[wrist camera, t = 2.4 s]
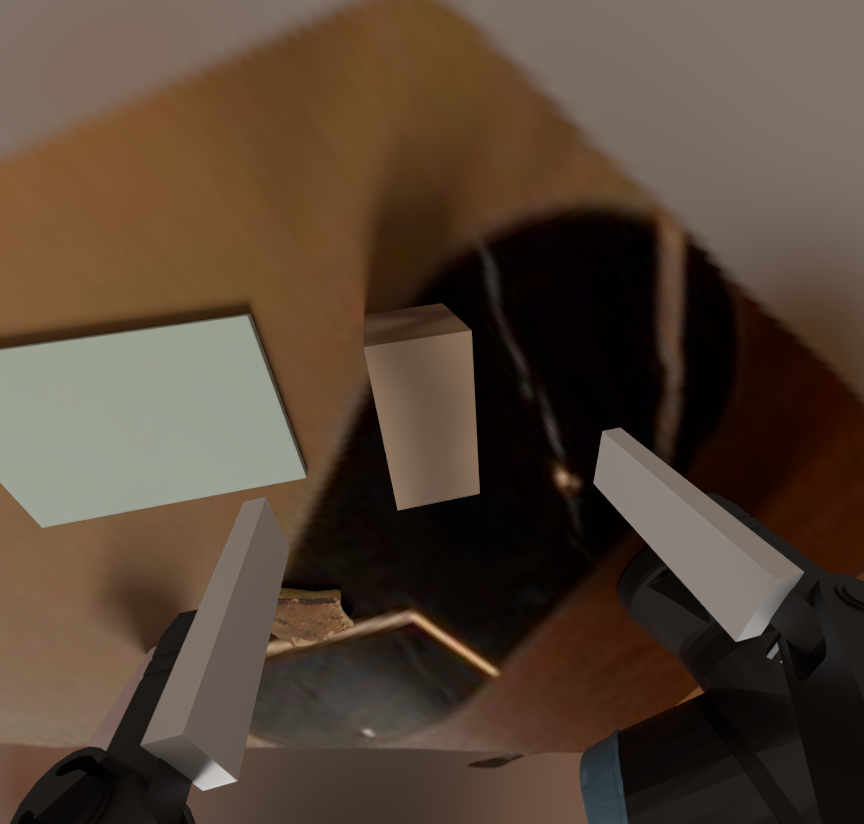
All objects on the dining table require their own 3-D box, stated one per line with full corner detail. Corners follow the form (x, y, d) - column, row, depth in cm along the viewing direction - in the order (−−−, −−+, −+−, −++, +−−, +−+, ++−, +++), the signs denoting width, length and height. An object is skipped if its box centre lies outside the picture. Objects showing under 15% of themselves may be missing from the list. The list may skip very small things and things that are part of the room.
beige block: (441, 302, 22) (471, 330, 16) (453, 433, 27) (479, 493, 21) (364, 314, 21) (363, 347, 15) (390, 445, 26) (397, 510, 20)
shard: (225, 580, 30) (217, 600, 29) (300, 544, 30) (297, 561, 28) (298, 635, 36) (295, 654, 34) (363, 605, 35) (363, 622, 34)
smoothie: (222, 655, 34) (142, 890, 22) (169, 680, 35) (62, 925, 22) (170, 626, 31) (44, 882, 19) (113, 654, 31) (-47, 922, 19)
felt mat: (250, 313, 20) (247, 315, 20) (307, 472, 26) (306, 477, 25) (-95, 361, 18) (-109, 365, 18) (49, 521, 24) (42, 527, 24)
